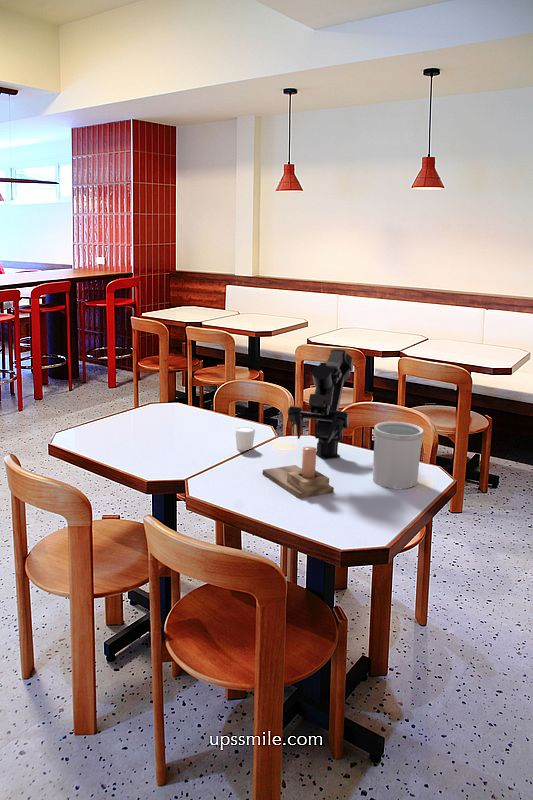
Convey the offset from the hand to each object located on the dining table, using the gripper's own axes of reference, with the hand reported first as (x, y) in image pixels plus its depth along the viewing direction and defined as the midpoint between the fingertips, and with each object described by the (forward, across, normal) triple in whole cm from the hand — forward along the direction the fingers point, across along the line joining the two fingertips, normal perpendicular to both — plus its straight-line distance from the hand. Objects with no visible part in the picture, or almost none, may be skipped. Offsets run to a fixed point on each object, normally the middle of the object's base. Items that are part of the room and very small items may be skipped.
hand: (312, 440), depth 207 cm
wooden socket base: (+12, -3, +7) cm, 14 cm away
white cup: (-8, -29, +25) cm, 39 cm away
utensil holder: (+3, +25, +16) cm, 30 cm away
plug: (+14, +1, +3) cm, 14 cm away
